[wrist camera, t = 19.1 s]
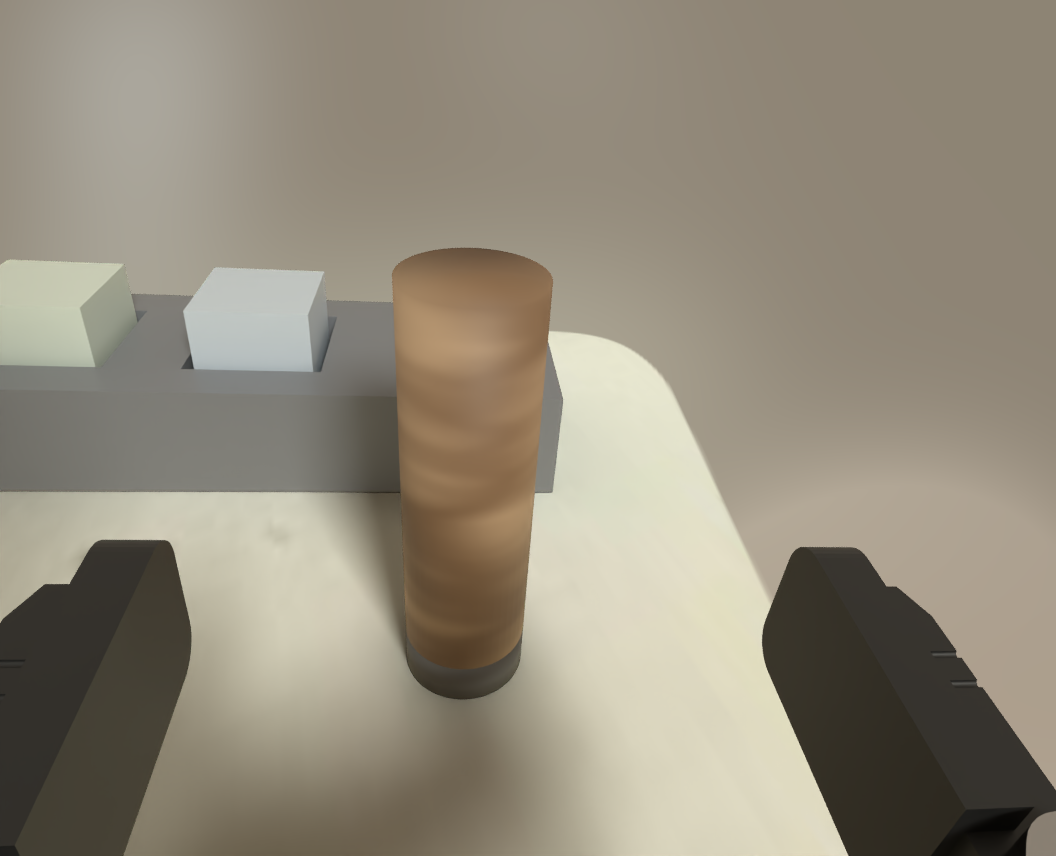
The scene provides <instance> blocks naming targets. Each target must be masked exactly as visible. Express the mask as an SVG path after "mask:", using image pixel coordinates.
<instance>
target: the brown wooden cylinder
mask: <svg viewBox="0 0 1056 856" xmlns="http://www.w3.org/2000/svg"><path fill="white" fill-rule="evenodd" d="M392 283H393V284H392V285H393V311H394V336H395V362H396V387H397V413H398V439H399V464H400V490H401V515H402V541H403V567H404V592H405V618H406V643H407V661H408V665H409V668H410V670H411V672H412V674H413V676H414V677H415V678H416V680H417V681H418V682H419V683H420V684H421V685H422V686H424V687H425V688H426V689H428V690H429V691H431V692H433V693H435V694H438V695H441V696H444V697H448V698H454V699H472V698H478V697H482V696H485V695H488V694H490V693H492V692H494V691H496V690H498V689H499V688H501V687H502V686H503V685H505V684H506V683H507V682H508V681H509V680H510V679H511V678H512V676H513V675H514V673H515V672H516V670H517V667H518V665H519V661H520V655H521V643H522V632H523V620H524V609H525V597H526V586H527V574H528V563H529V551H530V540H531V528H532V517H533V505H534V494H535V482H536V471H537V459H538V448H539V436H540V425H541V413H542V402H543V390H544V379H545V367H546V356H547V344H548V333H549V321H550V309H551V298H552V287H553V279H552V276H551V274H550V273H549V271H548V270H547V269H546V268H544V267H543V266H542V265H540V264H538V263H537V262H535V261H533V260H531V259H528V258H525V257H523V256H519V255H516V254H512V253H508V252H503V251H498V250H491V249H481V248H450V249H440V250H433V251H428V252H424V253H421V254H417V255H414V256H411V257H409V258H407V259H405V260H403V261H402V262H400V263H399V264H398V265H397V266H396V267H395V268H394V270H393V273H392Z"/></svg>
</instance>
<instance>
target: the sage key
mask: <svg viewBox="0 0 1056 856" xmlns="http://www.w3.org/2000/svg"><path fill="white" fill-rule="evenodd" d="M137 323H138V322H137V317H136V313H135V309H134V304H133V300H132V295H131V291H130V286H129V282H128V278H127V274H126V269H125V264H108V263H81V262H56V261H55V262H54V261H29V260H28V261H27V260H7V261H5V262H4V263H3V264H1V265H0V365H18V366H64V367H101V366H102V365H103V364H104V363H105V361H106V360H107V359H108V358H109V357H110V355H111V354H112V353H113V352H114V351H115V349H116V348H117V347H118V346H119V345H120V343H121V342H122V341H123V340H124V339H125V337H126V336H127V335H128V334H129V332H130V331H131V330H132V329H133V328H134V326H135V325H136V324H137Z"/></svg>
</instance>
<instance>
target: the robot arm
mask: <svg viewBox="0 0 1056 856" xmlns="http://www.w3.org/2000/svg"><path fill="white" fill-rule="evenodd" d="M762 647H763V655H764V660H765V664H766V667H767V670H768V673H769V675H770V677H771V679H772V682H773V684H774V686H775V689H776V691H777V693H778V695H779V698H780V700H781V702H782V705H783V707H784V709H785V711H786V714H787V716H788V718H789V721H790V723H791V725H792V727H793V730H794V732H795V734H796V737H797V739H798V741H799V744H800V746H801V748H802V750H803V753H804V755H805V757H806V760H807V762H808V764H809V766H810V769H811V771H812V773H813V776H814V778H815V780H816V782H817V785H818V787H819V789H820V792H821V794H822V796H823V798H824V801H825V803H826V805H827V808H828V810H829V812H830V814H831V817H832V819H833V821H834V824H835V826H836V828H837V830H838V833H839V835H840V837H841V840H842V842H843V844H844V847H845V849H846V851H847V853H848V856H1056V790H1055V789H1054V787H1053V786H1052V784H1051V783H1050V782H1049V780H1048V779H1047V777H1046V776H1045V775H1044V773H1043V772H1042V770H1041V769H1040V767H1039V766H1038V765H1037V763H1036V762H1035V761H1034V759H1033V758H1032V756H1031V755H1030V753H1029V752H1028V751H1027V749H1026V748H1025V746H1024V745H1023V744H1022V742H1021V741H1020V739H1019V738H1018V737H1017V735H1016V734H1015V732H1014V731H1013V730H1012V728H1011V727H1010V725H1009V724H1008V723H1007V721H1006V720H1005V719H1004V717H1003V716H1002V714H1001V713H1000V712H999V710H998V709H997V707H996V706H995V704H994V703H993V702H992V700H991V699H990V697H989V696H988V694H987V693H986V692H985V690H984V689H983V688H982V687H978V686H977V683H976V681H977V679H976V678H975V676H974V675H973V673H972V672H971V671H970V669H969V668H968V666H967V665H966V664H965V662H964V661H963V659H962V658H957V656H956V650H955V648H954V647H953V645H952V644H951V643H950V641H949V640H948V638H947V637H946V635H945V634H944V633H943V631H942V630H941V628H940V627H939V626H938V625H937V623H936V622H935V620H934V619H933V617H932V616H931V615H930V614H928V613H927V612H926V611H925V610H924V609H922V608H921V607H920V606H919V605H918V604H916V603H915V602H914V601H913V600H912V599H910V598H909V597H908V596H907V595H906V594H905V593H903V592H902V591H901V590H900V589H899V588H897V587H886V585H885V584H884V582H883V581H882V580H881V578H880V576H879V575H878V573H877V572H876V570H875V569H874V568H873V566H872V564H871V563H870V562H869V560H868V559H867V557H866V556H865V555H864V554H863V553H862V552H861V551H860V550H858V549H856V548H851V547H846V548H845V547H836V548H835V547H800V548H798V549H796V550H795V551H794V552H793V554H792V555H791V557H790V559H789V562H788V564H787V567H786V570H785V572H784V575H783V578H782V580H781V582H780V585H779V587H778V590H777V592H776V595H775V598H774V600H773V603H772V605H771V608H770V610H769V613H768V615H767V618H766V620H765V624H764V628H763V635H762ZM190 653H191V626H190V621H189V616H188V612H187V608H186V603H185V599H184V594H183V590H182V585H181V581H180V577H179V572H178V568H177V563H176V559H175V555H174V551H173V548H172V546H171V544H170V543H169V542H168V541H165V540H100V541H97V542H96V543H95V544H94V545H93V546H92V547H91V548H90V550H89V551H88V553H87V555H86V556H85V558H84V560H83V561H82V563H81V565H80V567H79V568H78V570H77V572H76V574H75V575H74V577H73V579H72V580H71V582H70V584H45V585H43V586H42V587H41V588H40V589H39V590H37V591H36V592H35V593H34V594H33V595H31V596H30V597H29V598H28V599H27V600H25V601H24V602H23V603H22V604H20V605H19V606H18V607H17V608H16V609H14V610H13V611H12V612H11V613H10V614H8V615H7V616H6V617H5V618H4V619H3V620H2V621H1V623H0V856H123V855H124V852H125V849H126V846H127V843H128V840H129V837H130V835H131V832H132V829H133V826H134V823H135V820H136V817H137V815H138V812H139V809H140V806H141V803H142V800H143V797H144V795H145V792H146V789H147V786H148V783H149V780H150V777H151V775H152V772H153V769H154V766H155V763H156V760H157V757H158V755H159V752H160V749H161V746H162V743H163V740H164V737H165V735H166V732H167V729H168V726H169V723H170V720H171V717H172V714H173V712H174V709H175V706H176V703H177V700H178V697H179V694H180V692H181V689H182V686H183V683H184V680H185V677H186V674H187V670H188V666H189V660H190Z"/></svg>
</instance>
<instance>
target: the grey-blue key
mask: <svg viewBox="0 0 1056 856" xmlns="http://www.w3.org/2000/svg"><path fill="white" fill-rule="evenodd" d="M183 313H184V318H185V324H186V329H187V334H188V340H189V345H190V350H191V356H192V361H193V366H194V369H203V370H249V371H295V372H321V370H322V366H323V363H324V359H325V356H326V353H327V349H328V346H329V343H330V342H329V328H328V315H327V302H326V289H325V276H324V272H321V271H295V270H269V269H241V268H240V269H239V268H214V269H213V271H212V272H211V274H210V275H209V276H208V277H207V279H206V280H205V282H204V283H203V285H202V286H201V287H200V288H199V290H198V292H197V293H196V294H195V295H194V297H193V298H192V299H191V301H190V302H189V304H188V305H187V306H186V308H185V309H184V310H183Z"/></svg>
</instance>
